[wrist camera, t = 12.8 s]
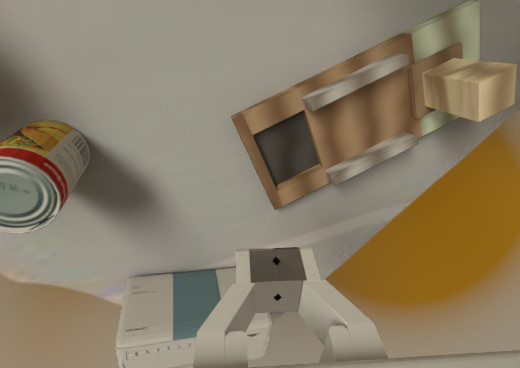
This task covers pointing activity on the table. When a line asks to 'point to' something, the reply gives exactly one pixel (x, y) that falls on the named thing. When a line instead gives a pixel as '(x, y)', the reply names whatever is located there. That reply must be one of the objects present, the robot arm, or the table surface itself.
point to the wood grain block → (461, 85)
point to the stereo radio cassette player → (176, 318)
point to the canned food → (39, 174)
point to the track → (350, 111)
